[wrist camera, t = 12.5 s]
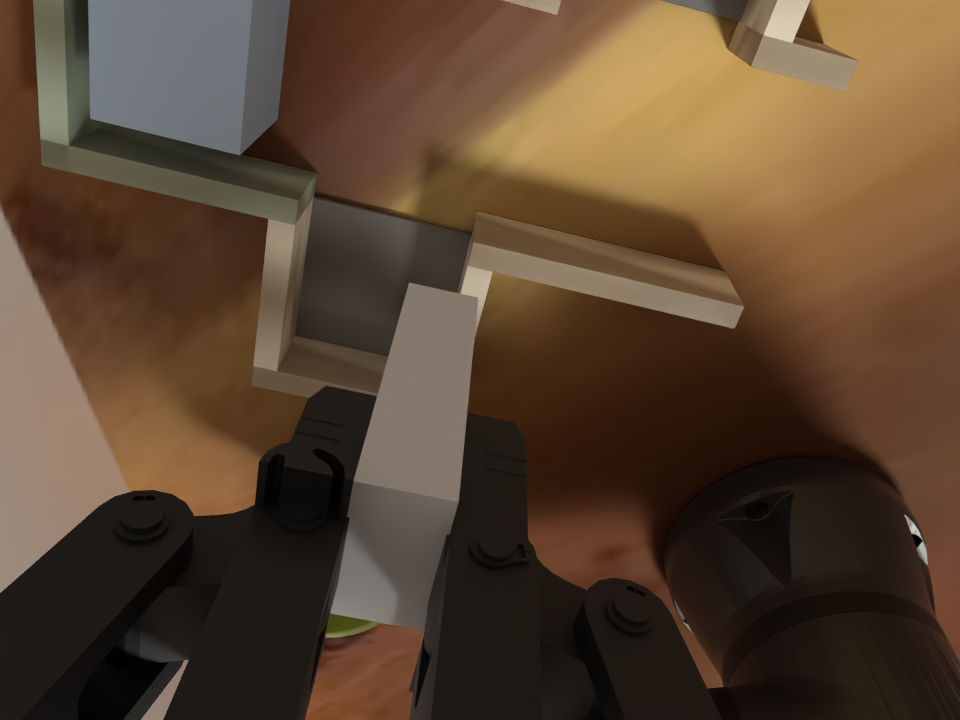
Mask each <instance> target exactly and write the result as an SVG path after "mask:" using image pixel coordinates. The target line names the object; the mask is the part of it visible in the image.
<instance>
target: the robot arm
mask: <svg viewBox="0 0 960 720" xmlns="http://www.w3.org/2000/svg"><path fill="white" fill-rule="evenodd" d="M477 306H478V298H477V297H473V296H468V295H464V294H459V293H455V292H450V291H445V290H441V289H436V288H432V287H427V286H423V285H418V284H414V283H409V285H408V289H407V292H406V296H405V299H404V303H403V306H402V310H401V313H400V317H399V321H398V324H397V328H396V331H395V335H394V338H393V342H392V346H391V349H390V353H389V356H388V360H387V363H386V367H385V370H384V374H383V378H382V381H381V385H380V388H379V392H378V395H377V396H374V395H370V394H365V393H360V392H355V391H350V390H346V389H341V388H336V387H331V386H325V387H324V388H322V389H321V390H320V391H318V392H317V393H316V394H314V395H313V396H312V397H310V398H309V399H308V401H307V404H306V406H305V408H304V411H303V413H302V416H301V419H300V420H299V423H298V425H297V428H296V430H295V434H294V435H293V437H292V440H291V442H290V443H284V444H281V445H279V446H277V447H275V448H273V449H271V450H269V451H267V453H266V454H265V455H264V456H263V457H262V459H261V460H260V461H259V469H258V479H257V489H256V499H255V505H253V506H251V507H249V508H248V509H245V510H242V511H239V512H235V513H231V514H223V515H211V516H193V513H192V511H191V510H190V508H189V507H188V505H187V504H186V502H184V501H182V500H181V499H179V498H177V497H176V496H174V495H172V494H169V493H164V492H160V491H155V490H146V491H132V492H129V493H125V494H122V495H119V496H115V497H113V498H112V499H110V500H108V501H107V502H105V503H103V504H102V505H100V506H99V507H98V508H96V509H95V510H94V511H93V512H92V513H91V514H90V515H89V516H87V517H86V518H85V519H84V520H83V521H82V522H81V523H80V524H78V525H77V526H76V527H75V528H74V529H73V530H72V531H70V533H68V534H67V535H66V536H65V537H64V538H62V539H61V540H60V541H59V542H58V543H57V544H56V545H55V546H53V547H52V548H51V549H50V550H49V551H48V552H47V553H45V554H44V555H43V556H42V557H41V558H40V559H39V560H38V561H36V562H35V563H34V564H33V565H32V566H31V567H30V568H28V569H27V570H26V571H25V572H24V573H23V574H22V575H21V576H19V577H18V578H17V579H16V580H15V581H14V582H12V583H11V584H10V585H9V586H8V587H7V588H6V589H5V590H3V591H2V592H1V593H0V720H141V719H142V717H143V716H144V715H145V713H146V712H147V711H148V709H149V708H150V707H151V705H152V704H153V703H154V702H155V700H156V699H157V697H158V696H159V695H160V694H161V692H162V691H163V689H164V688H165V687H166V686H167V684H168V683H169V682H170V680H171V679H172V678H173V677H174V675H175V674H176V673H177V671H178V670H179V669H180V667H181V666H182V663H183V661H184V660H189V661H188V664H187V666H186V668H185V670H184V673H183V675H182V677H181V680H180V682H179V684H178V687H177V689H176V692H175V694H174V696H173V698H172V701H171V703H170V705H169V708H168V710H167V712H166V715H165V717H164V719H163V720H305V716H306V712H307V708H308V705H309V701H310V697H311V693H312V689H313V685H314V681H315V677H316V673H317V669H318V665H319V661H320V658H321V654H322V650H323V646H324V641H325V636H326V630H327V625H328V620H329V616H330V613H331V614H336V615H341V616H347V617H352V618H358V619H363V620H368V621H374V622H379V623H385V624H390V625H395V626H401V627H406V628H411V629H417V630H422V631H423V630H424V626H425V633H424V638H423V642H422V646H421V649H420V653H419V657H418V660H417V664H416V667H415V671H414V675H413V678H412V682H411V685H410V689H409V691H410V692H413V698H412V706H411V713H410V720H960V659H959V657H958V655H957V654H956V652H955V650H954V649H953V647H952V646H951V644H950V642H949V640H948V639H947V637H946V635H945V633H944V632H943V630H942V628H941V626H940V625H939V623H938V621H937V617H936V610H935V603H934V597H933V590H932V583H931V578H930V573H929V569H928V557H927V550H926V544H925V540H924V537H923V534H922V532H921V529H920V527H919V525H918V523H917V521H916V520H915V518H914V516H913V515H912V513H911V512H910V510H909V508H908V507H907V505H906V504H905V502H904V501H903V499H902V498H901V496H900V495H899V493H898V492H897V491H896V490H895V489H894V488H893V487H892V486H891V485H890V484H889V483H888V482H887V481H885V480H884V479H883V478H881V477H880V476H878V475H877V474H875V473H873V472H871V471H869V470H867V469H865V468H863V467H860V466H858V465H855V464H852V463H849V462H845V461H841V460H836V459H829V458H820V457H794V458H785V459H778V460H772V461H768V462H764V463H760V464H757V465H753V466H750V467H747V468H744V469H742V470H740V471H737V472H735V473H733V474H731V475H728V476H726V477H725V478H723V479H721V480H719V481H717V482H716V483H714V484H713V485H711V486H710V487H708V488H707V489H705V490H704V491H703V492H702V493H700V494H699V495H698V496H697V497H696V498H695V499H693V500H692V501H691V502H690V503H689V504H688V506H687V507H686V508H685V509H684V510H683V511H682V513H681V514H680V515H679V517H678V518H677V520H676V521H675V523H674V525H673V527H672V528H671V531H670V533H669V535H668V538H667V541H666V546H665V551H664V568H665V573H666V578H667V582H668V587H669V591H670V595H671V599H672V602H673V604H674V606H675V609H676V611H677V613H678V615H679V617H680V618H681V619H682V621H683V622H684V623H685V625H686V626H687V627H688V629H689V630H690V631H691V632H692V633H693V634H694V635H695V637H696V639H697V640H698V642H699V643H700V645H701V647H702V648H703V650H704V651H705V653H706V654H707V656H708V658H709V659H710V661H711V662H712V664H713V665H714V667H715V668H716V670H717V671H718V673H719V674H720V676H721V678H722V682H723V685H724V687H719V688H710V689H707V687H706V685H705V683H704V681H703V679H702V677H701V675H700V673H699V671H698V668H697V666H696V664H695V662H694V660H693V658H692V656H691V654H690V652H689V650H688V648H687V646H686V644H685V642H684V640H683V637H682V635H681V633H680V631H679V629H678V627H677V625H676V623H675V621H674V619H673V617H672V615H671V613H670V612H669V610H668V609H667V607H666V606H665V604H664V603H663V602H662V600H661V599H660V598H658V597H657V596H656V595H655V594H654V593H652V592H651V591H650V590H649V589H647V588H645V587H643V586H641V585H639V584H637V583H635V582H632V581H630V580H624V579H617V578H610V579H605V580H599V581H598V582H596V583H595V584H594V585H592V586H591V587H589V589H588V591H587V590H585V589H583V588H581V587H579V586H577V585H574V584H572V583H570V582H568V581H566V580H564V579H562V578H560V577H559V576H557V575H555V574H553V573H552V572H551V571H549V570H548V569H547V568H546V567H545V566H543V565H542V564H541V562H540V561H539V560H538V559H537V557H536V553H535V549H534V547H533V546H532V544H531V543H530V542H529V540H528V526H527V480H526V477H527V468H526V441H525V439H524V437H523V436H522V434H521V432H520V431H519V429H518V427H517V426H516V424H515V423H513V422H508V421H504V420H499V419H494V418H489V417H484V416H480V415H475V414H470V413H467V409H468V399H469V389H470V378H471V368H472V358H473V347H474V337H475V327H476V316H477ZM425 622H426V625H425Z"/></svg>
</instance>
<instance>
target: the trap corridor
mask: <svg viewBox="0 0 960 720" xmlns="http://www.w3.org/2000/svg"><path fill="white" fill-rule="evenodd" d="M503 1H507V2H510V3H514V4H518V5H522V6H525V7H529V8H533V9H537V10H540V11H544V12H548V13H552V14H555V15H557V13H558V10H559V6H560V2H561V0H503ZM662 1H665V2H669V3H673V4H676V5H680V6H684V7H687V8H691V9H695V10H698V11H702V12H706V13H709V14H713V15H717V16H720V17H724V18H728V19H732V20H735V21H738V23H737V26H736V29H735V31H734V34H733V37H732V39H731V42H730V44H729V47H728V50H729V51H730V52H732V53H733V54H735V55H736V56H737V57H739V58H740V59H741V60H743V61H744V62H745V63H747V64H748V65H749V66H751V67H754V68H758V69H762V70H766V71H769V72H773V73H777V74H781V75H784V76H788V77H792V78H796V79H799V80H803V81H807V82H811V83H814V84H818V85H822V86H826V87H829V88H833V89H837V90H841V91H844V92H845V90H846V88H847V86H848V83H849V81H850V79H851V77H852V75H853V73H854V71H855V68H856V66H857V64H858V62H859V61H858V60H856V59H854V58H852V57H850V56H848V55H846V54H843V53H841V52H839V51H837V50H835V49H833V48H831V47H829V46H827V45H825V44H822V43H818V42H814V41H811V40H807V39H803V38H800V37H796V36H795V35H796V33H797V31H798V28H799V26H800V24H801V21H802V19H803V16H804V14H805V12H806V9H807V7H808V4H809V2H810V0H662ZM33 9H34V28H35V47H36V66H37V85H38V104H39V123H40V142H41V161H42V166H46V167H50V168H54V169H59V170H63V171H67V172H71V173H76V174H80V175H84V176H88V177H93V178H97V179H101V180H105V181H109V182H114V183H118V184H122V185H126V186H131V187H135V188H139V189H143V190H148V191H152V192H156V193H160V194H165V195H169V196H173V197H177V198H182V199H186V200H190V201H194V202H199V203H203V204H207V205H211V206H216V207H220V208H224V209H228V210H233V211H237V212H241V213H245V214H249V215H254V216H258V217H262V218H266V219H268V229H267V238H266V248H265V258H264V267H263V277H262V286H261V296H260V306H259V315H258V325H257V335H256V344H255V354H254V363H253V373H252V383H251V386H255V387H260V388H265V389H269V390H274V391H278V392H283V393H288V394H292V395H297V396H302V397H306V398H310V397H312V396H313V395H314V394H316V393H317V392H318V391H320V390H321V389H322V388H324V387H325V386H331V387H336V388H341V389H346V390H350V391H355V392H360V393H365V394H370V395H374V396H377V395H378V392H379V388H380V385H381V381H382V378H383V374H384V370H385V367H386V363H387V360H388V356H389V353H390V349H391V346H392V342H393V338H394V335H395V331H396V328H397V324H398V321H399V317H400V313H401V310H402V306H403V303H404V299H405V296H406V292H407V289H408V285H409V283H414V284H418V285H423V286H427V287H432V288H436V289H441V290H445V291H450V292H455V293H459V294H464V295H468V296H473V297H477V298H478V306H477V316H476V327H475V336H476V332H477V329H478V325H479V321H480V318H481V314H482V310H483V307H484V303H485V299H486V295H487V292H488V288H489V284H490V281H491V277H492V273H493V272H496V273H500V274H504V275H508V276H513V277H517V278H521V279H525V280H530V281H534V282H538V283H542V284H547V285H551V286H555V287H559V288H563V289H568V290H572V291H576V292H580V293H585V294H589V295H593V296H597V297H602V298H606V299H610V300H614V301H619V302H623V303H627V304H631V305H636V306H640V307H644V308H648V309H653V310H657V311H661V312H665V313H670V314H674V315H678V316H682V317H687V318H691V319H695V320H699V321H704V322H708V323H712V324H716V325H720V326H725V327H729V328H733V329H735V326H736V324H737V322H738V320H739V318H740V316H741V313H742V311H743V309H744V305H743V303H742V301H741V300H740V298H739V296H738V294H737V292H736V290H735V289H734V287H733V285H732V283H731V281H730V280H729V278H728V276H727V274H726V272H725V271H721V270H717V269H713V268H709V267H705V266H701V265H697V264H692V263H688V262H684V261H680V260H676V259H672V258H668V257H664V256H659V255H655V254H651V253H647V252H643V251H639V250H635V249H630V248H626V247H622V246H618V245H614V244H610V243H606V242H602V241H597V240H593V239H589V238H585V237H581V236H577V235H573V234H569V233H564V232H560V231H556V230H552V229H548V228H544V227H540V226H535V225H531V224H527V223H523V222H519V221H515V220H511V219H507V218H502V217H498V216H494V215H490V214H486V213H482V212H478V211H477V214H476V218H475V222H474V226H473V230H472V233H468V232H463V231H459V230H455V229H451V228H447V227H443V226H438V225H434V224H430V223H426V222H422V221H418V220H413V219H409V218H405V217H401V216H397V215H392V214H388V213H384V212H380V211H376V210H372V209H367V208H363V207H359V206H355V205H351V204H347V203H342V202H338V201H334V200H330V199H326V198H321V197H317V196H315V188H316V181H317V174H318V173H317V172H312V171H308V170H304V169H300V168H296V167H292V166H288V165H283V164H279V163H275V162H271V161H267V160H263V159H259V158H255V157H250V156H246V155H242V154H241V155H236V154H232V153H228V152H224V151H220V150H216V149H212V148H208V147H204V146H199V145H195V144H191V143H187V142H183V141H179V140H175V139H171V138H167V137H163V136H159V135H155V134H150V133H146V132H142V131H138V130H134V129H130V128H126V127H122V126H118V125H114V124H110V123H106V122H101V121H97V120H93V119H90V76H89V16H88V0H33ZM474 340H475V337H474Z"/></svg>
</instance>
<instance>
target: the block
mask: <svg viewBox="0 0 960 720" xmlns="http://www.w3.org/2000/svg"><path fill="white" fill-rule="evenodd" d="M289 8H290V0H88V16H89V76H90V119H93V120H97V121H101V122H106V123H110V124H114V125H118V126H122V127H126V128H130V129H134V130H138V131H142V132H146V133H150V134H155V135H159V136H163V137H167V138H171V139H175V140H179V141H183V142H187V143H191V144H195V145H199V146H204V147H208V148H212V149H216V150H220V151H224V152H228V153H232V154H236V155H241V154H242V153H243V152H244V151H245V150H246V149H247V148H248V147H249V146H250V145H251V144H252V143H253V142H254V141H255V140H256V139H257V138H259V137H260V136H261V135H262V134H263V133H264V132H265V131H266V130H267V129H268V128H269V127H270V126H271V125H272V124H273V123H274V122H275V121H276V120H277V119H278V112H279V103H280V93H281V84H282V74H283V65H284V55H285V46H286V37H287V27H288V18H289Z"/></svg>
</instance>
